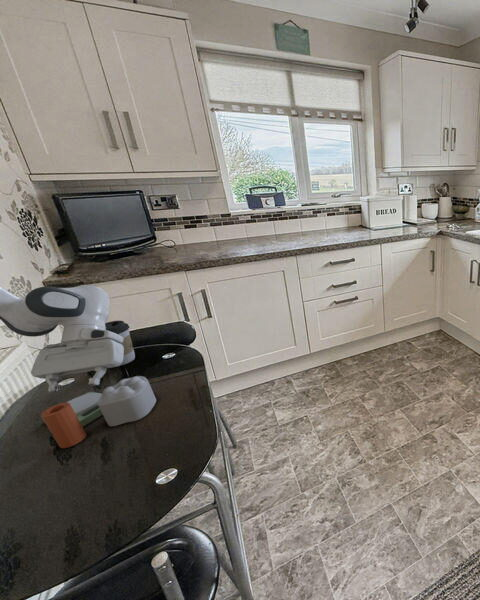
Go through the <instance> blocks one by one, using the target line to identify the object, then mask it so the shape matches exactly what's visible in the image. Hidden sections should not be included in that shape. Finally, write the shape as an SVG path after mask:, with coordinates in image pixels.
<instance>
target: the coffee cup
mask: <svg viewBox="0 0 480 600" xmlns="http://www.w3.org/2000/svg"><path fill="white" fill-rule="evenodd" d="M105 327H106V330H108V331H111V332H113V333H116V334H118V335H120V336H121V337H123V338H124V340H123V343H122V345H123V347H124V356H123V362H122V363H121V364H120V366H124V365H127V364H129V363H131V362H133V361H134V360H135V358H136V353H135V350H134V346H133V341H132V338H131V334H130V327H131V326H129V323H125V321H123V320H111V321H108V322H107V321H106V323H105ZM120 366H119V367H120Z"/></svg>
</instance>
